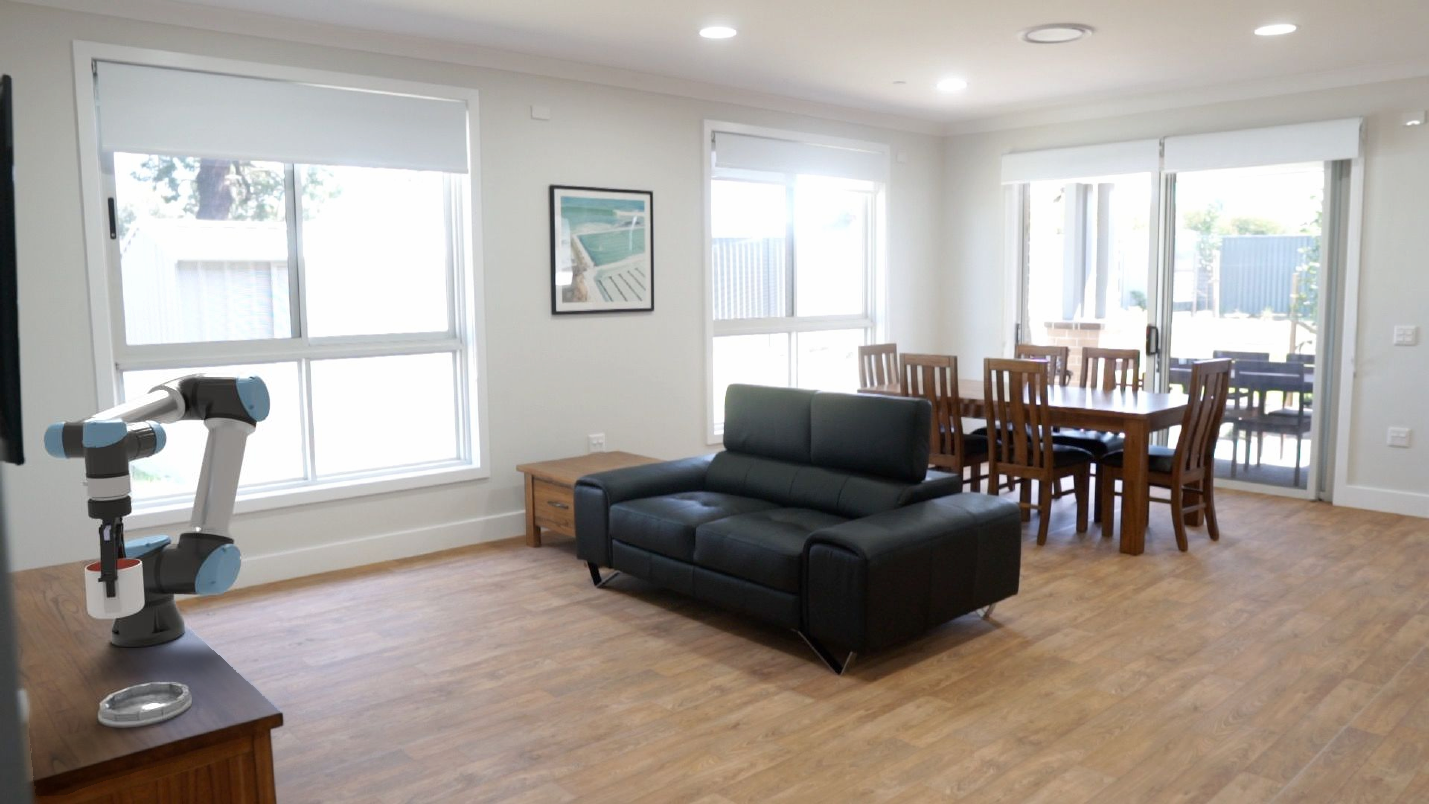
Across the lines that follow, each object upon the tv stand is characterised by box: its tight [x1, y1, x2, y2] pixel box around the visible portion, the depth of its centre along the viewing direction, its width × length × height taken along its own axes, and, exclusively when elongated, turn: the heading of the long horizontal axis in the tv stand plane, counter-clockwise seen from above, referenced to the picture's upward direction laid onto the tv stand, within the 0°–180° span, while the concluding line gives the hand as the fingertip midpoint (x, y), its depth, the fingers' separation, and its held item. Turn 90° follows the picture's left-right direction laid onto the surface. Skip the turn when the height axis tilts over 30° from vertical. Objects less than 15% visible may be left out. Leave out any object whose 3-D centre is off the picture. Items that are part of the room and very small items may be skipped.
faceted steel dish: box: [97, 681, 193, 729], centre depth 198 cm, size 16×16×2 cm
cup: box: [84, 559, 145, 620], centre depth 205 cm, size 10×10×10 cm
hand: (116, 604), depth 206 cm, fingers closed on cup, 10 cm apart
